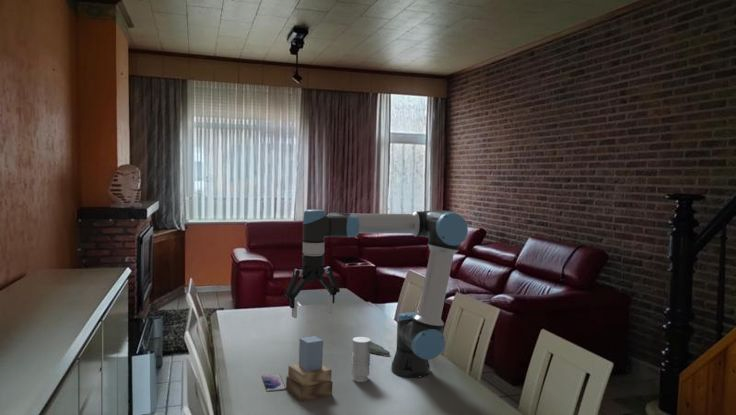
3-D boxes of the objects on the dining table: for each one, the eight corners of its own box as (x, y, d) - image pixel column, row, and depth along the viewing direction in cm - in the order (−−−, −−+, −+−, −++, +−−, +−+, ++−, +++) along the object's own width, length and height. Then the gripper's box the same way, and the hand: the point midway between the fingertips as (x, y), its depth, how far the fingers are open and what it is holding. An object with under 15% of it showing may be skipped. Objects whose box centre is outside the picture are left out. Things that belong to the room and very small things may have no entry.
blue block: (314, 363, 189) (314, 335, 189) (322, 368, 184) (323, 340, 184) (298, 366, 186) (299, 338, 185) (306, 371, 181) (307, 342, 180)
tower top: (315, 370, 193) (315, 360, 193) (331, 380, 184) (331, 369, 184) (288, 376, 186) (288, 365, 186) (303, 387, 177) (303, 375, 177)
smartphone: (266, 390, 184) (261, 375, 198) (266, 393, 184) (261, 377, 198) (286, 388, 186) (280, 373, 200) (286, 391, 186) (279, 375, 200)
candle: (368, 375, 202) (370, 336, 202) (369, 382, 195) (371, 342, 195) (350, 375, 202) (352, 336, 201) (351, 382, 195) (352, 342, 194)
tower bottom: (316, 384, 193) (316, 370, 193) (332, 396, 183) (332, 381, 183) (286, 390, 187) (286, 376, 187) (300, 402, 177) (300, 388, 177)
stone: (395, 350, 228) (377, 353, 221) (395, 357, 228) (377, 361, 222) (371, 338, 241) (353, 341, 235) (371, 345, 241) (353, 348, 235)
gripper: (339, 251, 193) (338, 308, 194) (275, 254, 179) (274, 316, 181) (350, 253, 186) (348, 313, 187) (284, 257, 173) (283, 321, 174)
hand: (312, 315), depth 184 cm, fingers open, 13 cm apart
